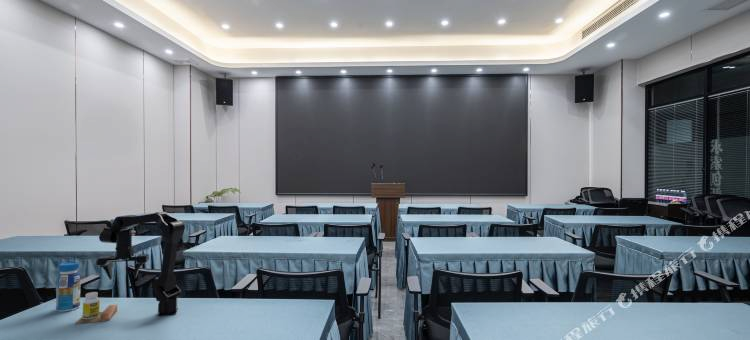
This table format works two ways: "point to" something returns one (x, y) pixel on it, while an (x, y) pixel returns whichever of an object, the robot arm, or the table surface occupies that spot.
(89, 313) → the supplement bottle
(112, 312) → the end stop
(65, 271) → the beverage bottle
